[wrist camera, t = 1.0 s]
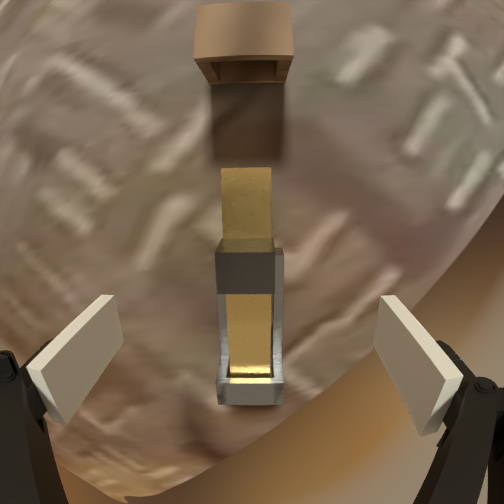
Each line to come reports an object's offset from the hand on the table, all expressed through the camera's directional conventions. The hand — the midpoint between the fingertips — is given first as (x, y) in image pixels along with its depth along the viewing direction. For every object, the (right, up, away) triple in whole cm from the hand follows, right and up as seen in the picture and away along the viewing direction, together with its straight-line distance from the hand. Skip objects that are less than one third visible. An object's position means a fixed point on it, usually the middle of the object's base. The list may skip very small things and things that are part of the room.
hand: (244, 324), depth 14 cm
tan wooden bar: (0, +1, +16) cm, 16 cm away
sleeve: (0, -3, +19) cm, 19 cm away
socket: (0, +22, +11) cm, 25 cm away
